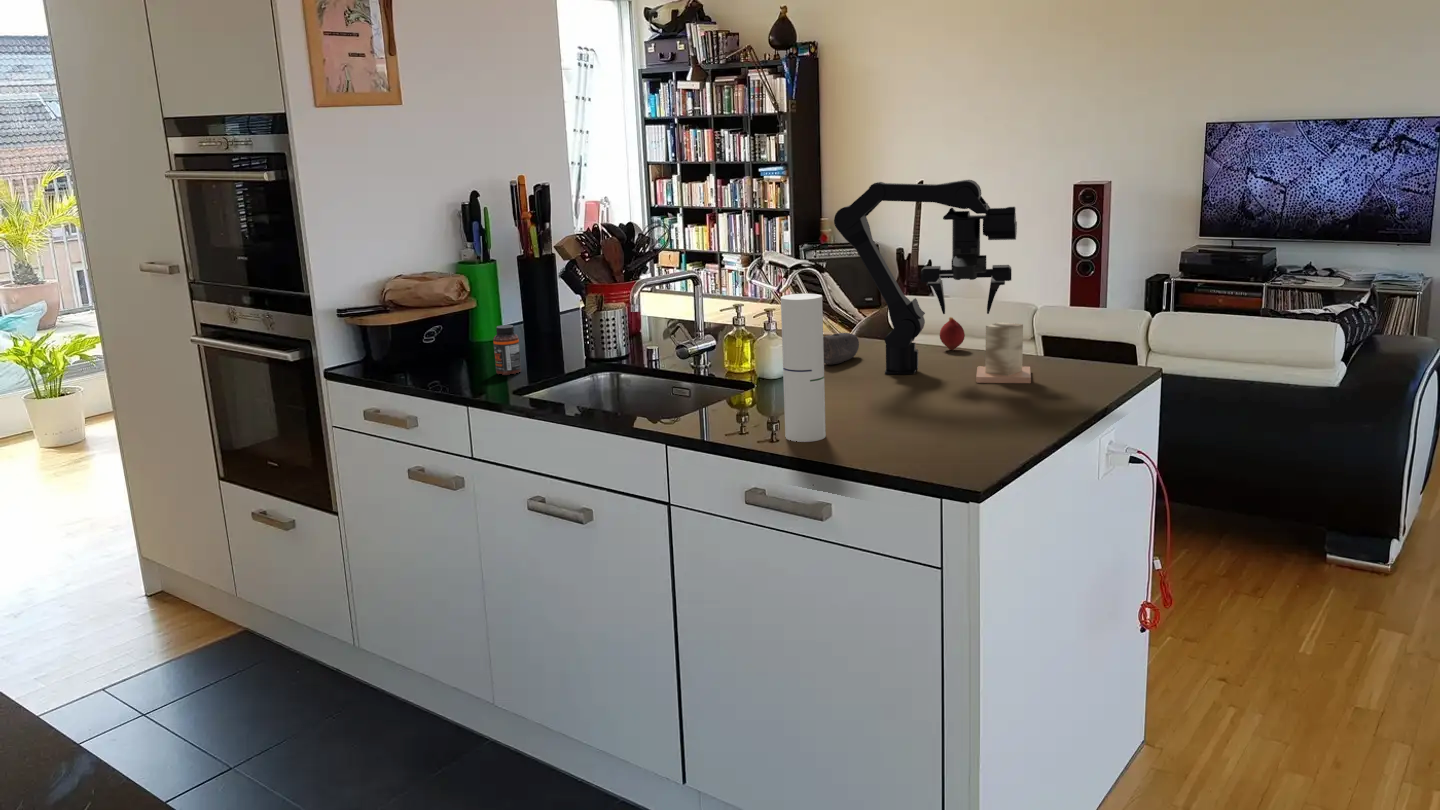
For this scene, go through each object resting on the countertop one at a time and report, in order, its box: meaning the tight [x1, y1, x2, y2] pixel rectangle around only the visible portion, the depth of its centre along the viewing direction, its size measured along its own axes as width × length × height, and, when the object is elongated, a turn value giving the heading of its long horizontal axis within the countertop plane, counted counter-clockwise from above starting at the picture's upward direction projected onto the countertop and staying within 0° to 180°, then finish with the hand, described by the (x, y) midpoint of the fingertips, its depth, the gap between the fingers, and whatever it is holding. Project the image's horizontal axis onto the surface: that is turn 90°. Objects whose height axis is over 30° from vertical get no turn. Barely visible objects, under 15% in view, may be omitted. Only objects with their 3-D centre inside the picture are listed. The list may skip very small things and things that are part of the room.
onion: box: [939, 316, 966, 351], centre depth 268 cm, size 6×6×8 cm
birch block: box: [984, 321, 1024, 376], centre depth 237 cm, size 6×6×10 cm
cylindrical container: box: [780, 293, 826, 443], centre depth 196 cm, size 7×7×25 cm
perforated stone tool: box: [823, 332, 860, 365], centre depth 261 cm, size 15×5×7 cm, turn 140°
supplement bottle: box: [492, 324, 522, 376], centre depth 266 cm, size 6×6×11 cm
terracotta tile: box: [975, 365, 1032, 384], centre depth 238 cm, size 11×11×1 cm
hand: (965, 313), depth 241 cm, fingers open, 9 cm apart
